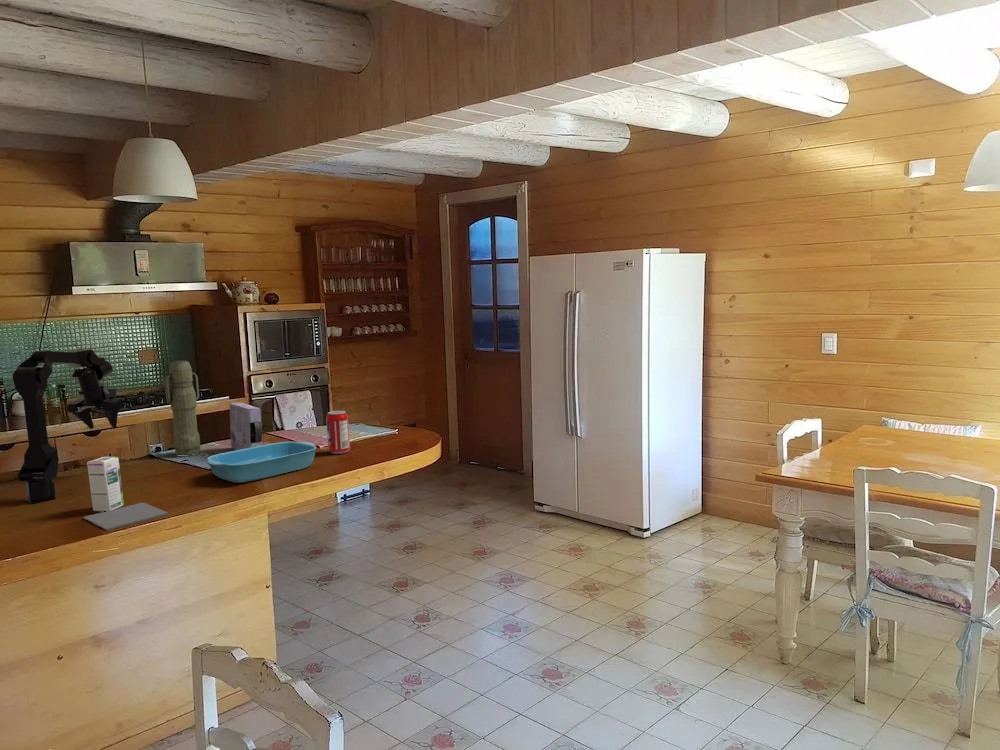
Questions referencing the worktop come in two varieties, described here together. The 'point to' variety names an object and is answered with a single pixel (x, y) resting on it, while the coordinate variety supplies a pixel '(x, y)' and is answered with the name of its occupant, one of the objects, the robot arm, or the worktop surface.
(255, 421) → the cake pan box
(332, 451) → the soda can
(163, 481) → the worktop surface
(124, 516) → the mat
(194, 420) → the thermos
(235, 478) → the casserole dish
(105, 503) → the syrup box
